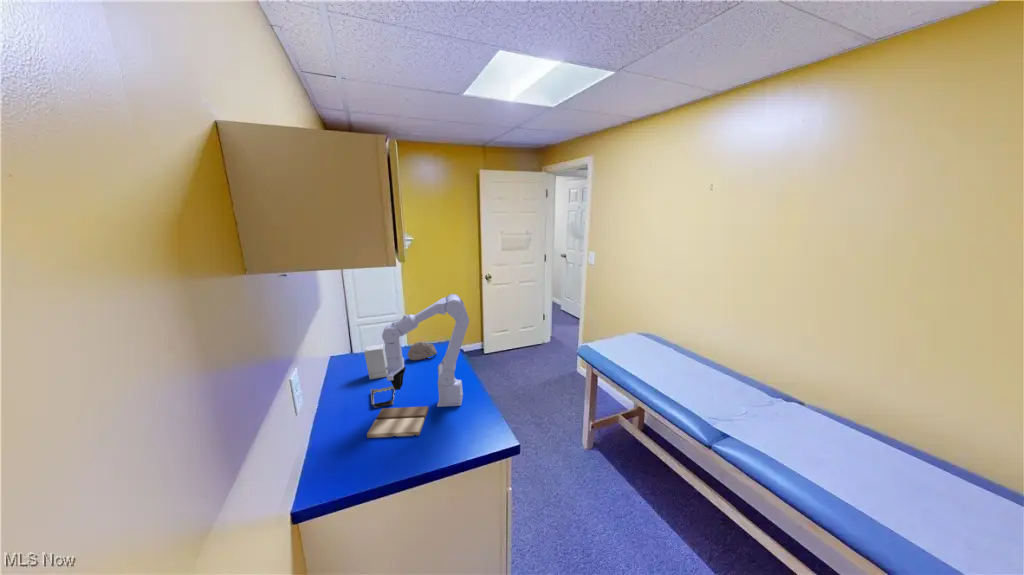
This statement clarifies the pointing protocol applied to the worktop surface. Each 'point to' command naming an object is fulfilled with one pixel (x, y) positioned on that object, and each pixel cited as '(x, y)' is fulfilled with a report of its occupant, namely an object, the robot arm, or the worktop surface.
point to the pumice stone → (421, 351)
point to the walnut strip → (403, 413)
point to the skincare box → (376, 361)
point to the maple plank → (396, 427)
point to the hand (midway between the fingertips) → (398, 387)
